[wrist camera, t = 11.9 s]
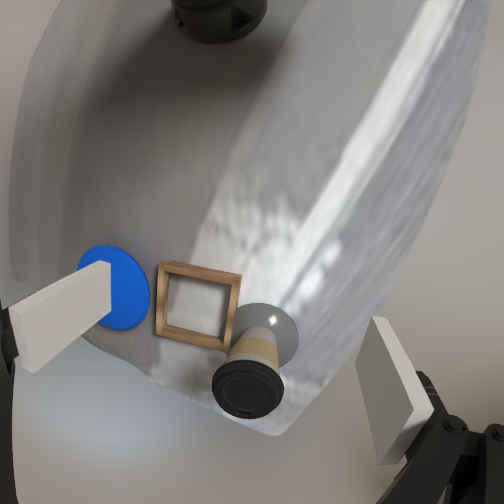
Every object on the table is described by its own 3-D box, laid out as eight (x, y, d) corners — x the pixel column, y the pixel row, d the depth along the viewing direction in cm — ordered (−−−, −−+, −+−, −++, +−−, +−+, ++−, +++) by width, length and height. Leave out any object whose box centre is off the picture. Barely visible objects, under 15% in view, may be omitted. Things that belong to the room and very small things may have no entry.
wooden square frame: (164, 259, 50) (158, 263, 47) (242, 275, 48) (239, 280, 46) (161, 327, 53) (155, 334, 51) (231, 344, 52) (228, 352, 49)
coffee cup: (242, 368, 52) (226, 427, 37) (221, 323, 50) (196, 376, 36) (294, 355, 50) (292, 416, 35) (276, 307, 48) (268, 360, 34)
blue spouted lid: (129, 226, 49) (107, 234, 42) (172, 308, 52) (155, 326, 45) (73, 262, 53) (50, 272, 46) (111, 332, 55) (92, 349, 49)
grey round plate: (226, 295, 50) (225, 297, 49) (306, 311, 48) (306, 313, 48) (217, 360, 53) (216, 363, 52) (289, 374, 52) (288, 377, 51)
